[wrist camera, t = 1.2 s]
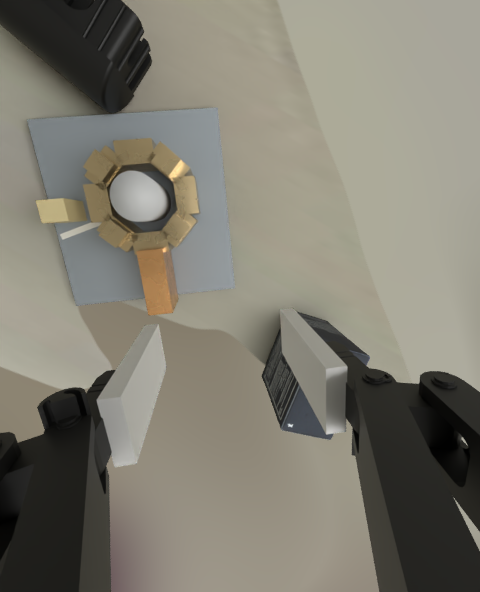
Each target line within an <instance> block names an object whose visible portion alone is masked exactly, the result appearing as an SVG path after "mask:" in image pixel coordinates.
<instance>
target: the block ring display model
mask: <svg viewBox="0 0 480 592" xmlns="http://www.w3.org/2000/svg"><path fill="white" fill-rule="evenodd" d="M27 122H28V126H29V130H30V133H31V137H32V141H33V145H34V149H35V152H36V156H37V160H38V164H39V167H40V171H41V175H42V179H43V182H44V186H45V190H46V194H47V198H48V199H47V200H36V204H37V207H38V211H39V215H40V218H41V222H42V223H54V224H55V228H56V231H57V235H58V239H59V243H60V247H61V250H62V254H63V258H64V262H65V265H66V269H67V273H68V277H69V280H70V284H71V288H72V292H73V296H74V299H75V303H76V306H79V305H88V304H96V303H105V302H115V301H124V300H133V299H142V298H145V295H144V289H143V284H142V279H141V274H140V268H139V263H138V258H137V255H135V253H134V250H133V251H130V252H125V251H124V250H123V249H121V248H120V247H118V248H115V247H114V246H112V245H111V244H110V243H108V242H107V241H105V240H104V239H103V238H101V237H100V236H99V234H100V232H98V231H97V229H98V227H99V226H100V224H101V223H91V218H90V214H89V210H88V205H87V201H86V197H85V192H84V188H83V185H84V184H94V183H93V182H91V181H90V180H89V179H87V178H86V177H85V176H84V175H85V174H86V172H87V171H88V170H86V169H85V168H84V167H83V166H84V164H85V163H86V161H87V160H88V158H89V157H90V155H91V154H92V152H93V151H94V149H96V150H98V151H99V152H101V150H102V149H103V147H104V146H105V145H106V146H108V147H109V148H110V149H112V150H113V151H115V149H114V144H113V141H114V140H128V139H143V138H152V140H153V141H154V142H155V144H156V145H157V144H158V143H159V142H160V141H161V142H162V143H163V144H164V145H166V146H167V147H168V148H169V149H170V150H171V151H172V152H173V153H175V154H176V155H177V156H178V157H179V158H180V159H181V160H182V161H183V162H184V163H186V164H187V165H188V166H189V167H190V169H191V171H192V174H193V175H192V176H195V179H196V181H197V189H198V197H199V205H200V213H201V214H195V215H192V216H194V217H195V218H196V219H197V220H198V223H197V224H196V225H195V226H194V228H193V229H192V230H191V232H190V233H189V234H188V235H187V237H186V238H185V239H184V241H183V242H182V243H181V244H180V245H179V246H178V247H175V246H174V247H175V248H173V249H172V250H171V254H172V261H173V267H174V274H175V280H176V286H177V293H178V294H186V293H195V292H204V291H213V290H222V289H231V288H235V283H234V272H233V262H232V252H231V242H230V231H229V221H228V211H227V201H226V190H225V180H224V170H223V159H222V149H221V139H220V129H219V118H218V108H201V109H185V110H169V111H153V112H138V113H122V114H106V115H90V116H74V117H58V118H42V119H27ZM110 200H111V203H112V205H113V207H114V209H115V210H116V211H117V213H118V214H120V215H121V216H122V217H123V218H125V219H127V220H130V221H132V222H133V223H134V224H135V225H137V226H138V227H139V228H141V229H142V230H143V231H145V232H149V231H160V230H162V229H163V227H164V226H165V225H166V223H167V222H168V221H169V220H170V218H171V217H172V216H173V214H175V213H176V211H177V205H176V198H175V191H174V184H173V182H171V181H170V180H169V179H168V178H167V177H166V176H164V175H163V174H162V173H161V172H160V171H150V172H138V171H126V172H123V173H121V174H119V175H118V176H117V177H116V178H115V179H114V180H113V182H112V184H111V187H110Z"/></svg>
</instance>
